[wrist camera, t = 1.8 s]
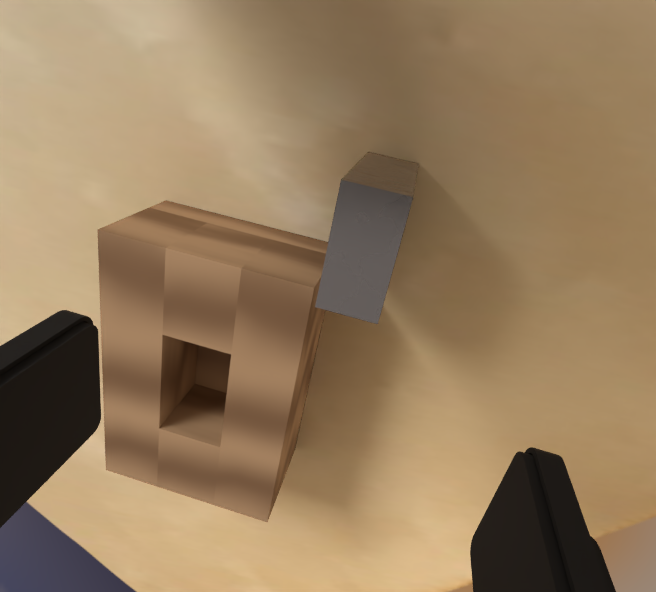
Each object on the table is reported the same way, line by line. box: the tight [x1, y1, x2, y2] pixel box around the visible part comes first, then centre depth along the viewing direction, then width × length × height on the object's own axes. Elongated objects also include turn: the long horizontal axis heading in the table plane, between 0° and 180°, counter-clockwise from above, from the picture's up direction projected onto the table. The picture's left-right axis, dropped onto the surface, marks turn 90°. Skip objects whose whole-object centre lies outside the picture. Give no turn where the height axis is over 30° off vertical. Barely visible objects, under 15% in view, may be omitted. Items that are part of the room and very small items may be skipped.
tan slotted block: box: [98, 201, 328, 522], centre depth 31 cm, size 18×12×7 cm, turn 169°
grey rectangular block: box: [315, 152, 419, 324], centre depth 24 cm, size 6×3×9 cm, turn 169°
